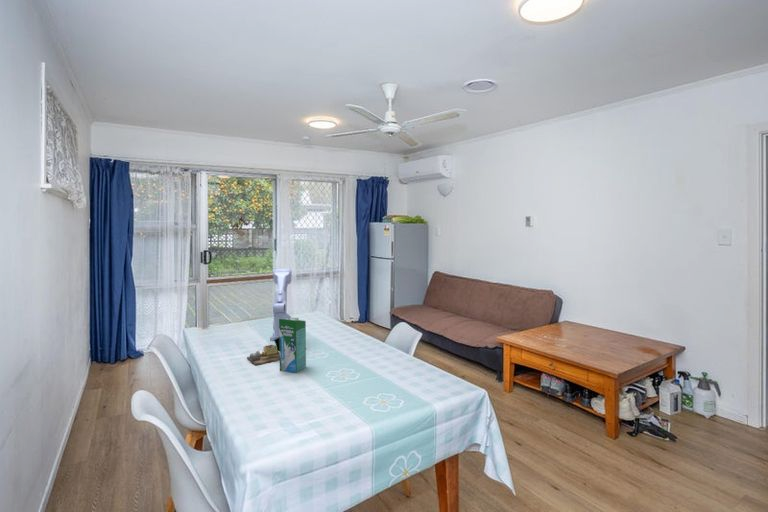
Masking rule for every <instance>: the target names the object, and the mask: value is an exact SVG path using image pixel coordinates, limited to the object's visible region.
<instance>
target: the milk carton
mask: <svg viewBox="0 0 768 512" xmlns="http://www.w3.org/2000/svg"><path fill="white" fill-rule="evenodd" d="M299 318H300V317H293V316H291V317H290V319H279V351H278V352H279V353H280V361H279V371H281V372H288V373H295V374H297V373H298V372H300V371H301V370H303V369H304V368H306V367H307V341H306V340H307V339H306V338H307V334H306V332H307V331H306V326H307V325H306V321H307V320H300V319H299Z"/></svg>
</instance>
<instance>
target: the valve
mask: <svg viewBox="0 0 768 512" xmlns="http://www.w3.org/2000/svg"><path fill="white" fill-rule="evenodd" d="M275 345H276V344H269V345H265V346H263V351H262V355H263V357H267V356H272V355H277V354H278V352H279V351H278V349H277V347H276V346H275Z"/></svg>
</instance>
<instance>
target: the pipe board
mask: <svg viewBox="0 0 768 512" xmlns="http://www.w3.org/2000/svg"><path fill="white" fill-rule="evenodd" d="M249 354H250V355H249V356H247V357H246V359H247V361H249V362H250V363H251V364H253V365H254V366H255V367H256V366H261V365H266V364H270V363H274V362H280V352H279V351H278V354H277V355H272V356H267V357H263V355H262V353H261V352H260V351H259V350H257V351H255V352H252V353H251V352H250V353H249Z"/></svg>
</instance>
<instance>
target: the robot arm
mask: <svg viewBox="0 0 768 512" xmlns="http://www.w3.org/2000/svg"><path fill="white" fill-rule="evenodd" d="M272 272H273V273H272V277H273V281H274V284H275V285H277V291H276V292H275V293H274V303H273V305H272V312H273V313H272V314H273V322H272V326H273V327H272V329H273V332H272V335H271V336H270V337H269V341H270V342H274V343H275V344H274V345H275V346H276V347H277V349H278V352H279V319H290V317H292V316H291V315H290V314H289V313H287V310H288V309H287V306H288V305H287V302H288V299H287V297H288V291H287V290H288V285H289V284H291V283H292V268H291V267H289V268H274V269H273V271H272Z"/></svg>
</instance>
